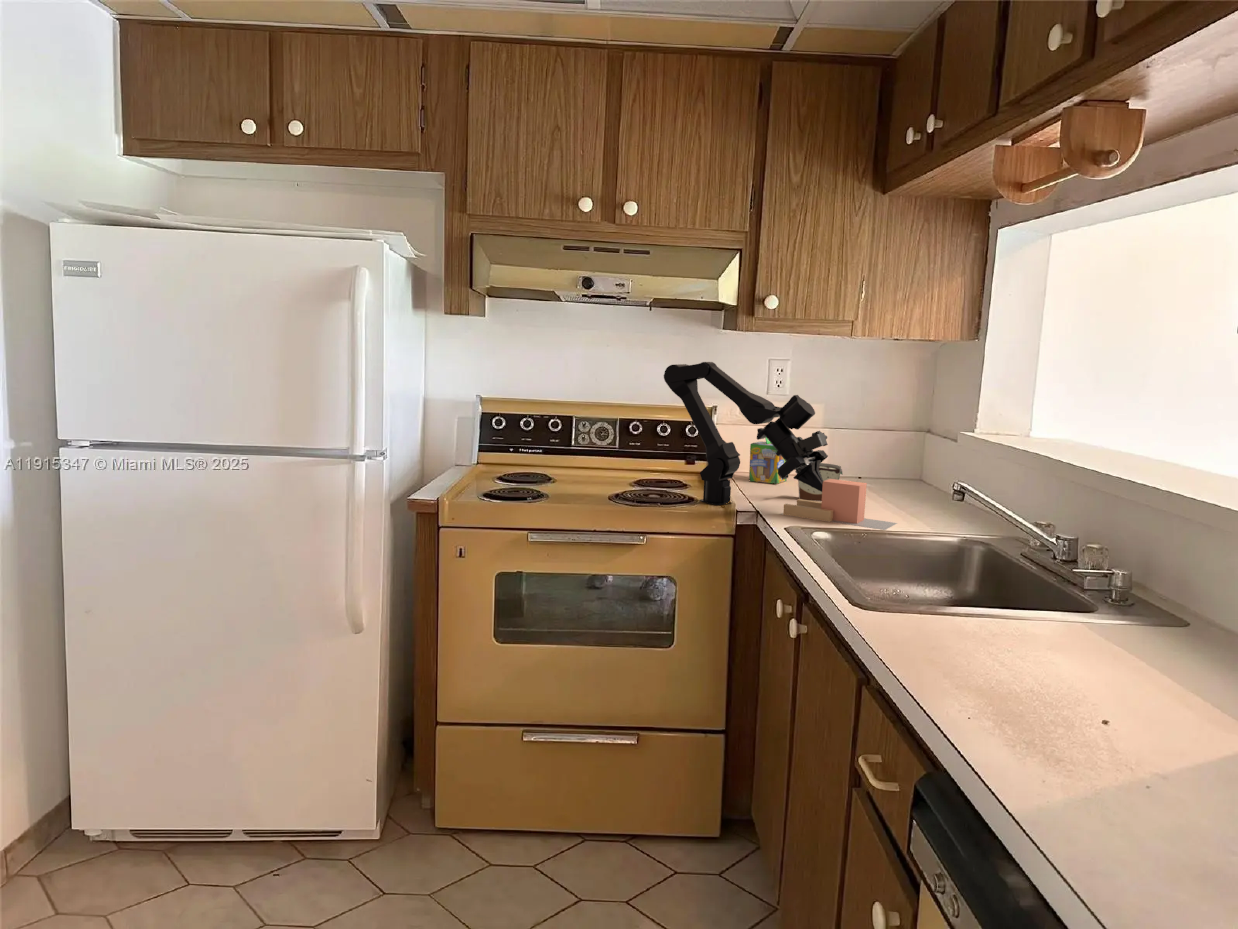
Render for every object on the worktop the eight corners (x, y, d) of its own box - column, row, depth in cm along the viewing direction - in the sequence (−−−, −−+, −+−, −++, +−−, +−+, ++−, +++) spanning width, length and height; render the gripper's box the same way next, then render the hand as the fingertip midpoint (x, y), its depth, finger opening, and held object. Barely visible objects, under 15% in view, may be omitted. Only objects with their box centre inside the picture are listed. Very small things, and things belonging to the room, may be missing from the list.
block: (820, 518, 217) (822, 481, 215) (828, 514, 221) (830, 478, 220) (856, 523, 212) (859, 485, 210) (863, 520, 216) (866, 483, 215)
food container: (837, 499, 245) (839, 463, 244) (840, 504, 239) (843, 466, 237) (791, 497, 246) (793, 461, 245) (793, 501, 240) (795, 464, 239)
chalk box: (776, 485, 266) (779, 435, 264) (747, 481, 270) (750, 432, 268) (787, 481, 274) (790, 432, 271) (759, 477, 278) (762, 429, 276)
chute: (779, 516, 220) (780, 504, 220) (794, 510, 228) (795, 498, 228) (884, 532, 206) (885, 519, 206) (897, 525, 214) (898, 512, 213)
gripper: (792, 423, 211) (835, 474, 206) (822, 418, 226) (862, 465, 222) (760, 453, 216) (801, 504, 212) (791, 446, 232) (830, 493, 227)
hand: (825, 491), depth 218 cm, fingers closed
